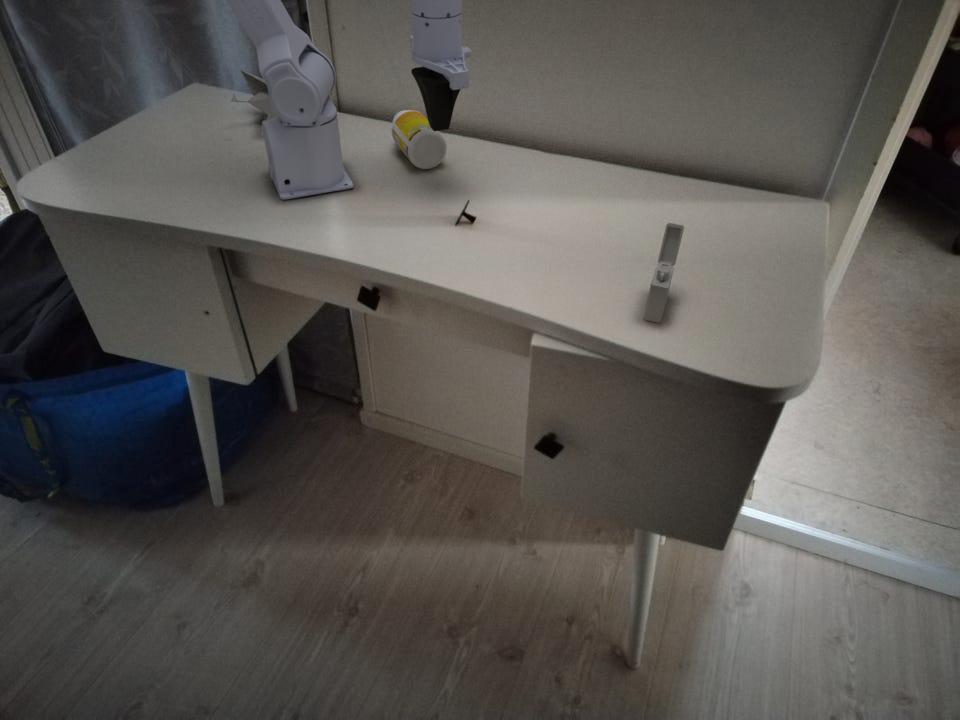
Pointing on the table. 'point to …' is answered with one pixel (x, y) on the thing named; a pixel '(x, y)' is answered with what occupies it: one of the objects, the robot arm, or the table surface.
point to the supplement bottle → (418, 139)
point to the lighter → (663, 273)
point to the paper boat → (258, 96)
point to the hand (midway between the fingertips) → (439, 128)
